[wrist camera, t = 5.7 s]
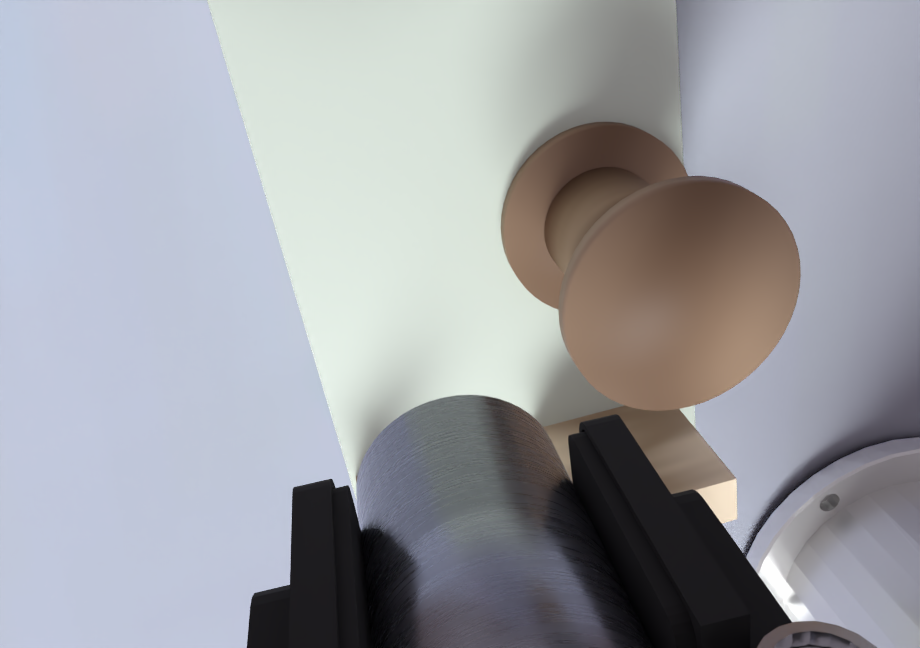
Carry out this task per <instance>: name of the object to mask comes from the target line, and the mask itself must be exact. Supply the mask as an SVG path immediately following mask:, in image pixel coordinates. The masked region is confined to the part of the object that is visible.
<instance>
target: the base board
mask: <svg viewBox="0 0 920 648" xmlns="http://www.w3.org/2000/svg"><path fill="white" fill-rule="evenodd" d="M207 1H208V5H209V8H210V11H211V15H212V18H213V22H214V25H215V28H216V32H217V35H218V38H219V42H220V45H221V48H222V52H223V55H224V58H225V62H226V65H227V68H228V72H229V75H230V78H231V82H232V85H233V88H234V92H235V95H236V98H237V102H238V105H239V109H240V112H241V115H242V119H243V122H244V125H245V129H246V132H247V135H248V139H249V142H250V145H251V149H252V152H253V155H254V159H255V162H256V165H257V169H258V172H259V175H260V179H261V182H262V186H263V189H264V192H265V196H266V199H267V202H268V206H269V209H270V212H271V216H272V219H273V222H274V226H275V229H276V232H277V236H278V239H279V242H280V246H281V249H282V252H283V256H284V259H285V262H286V266H287V269H288V273H289V276H290V279H291V283H292V286H293V289H294V293H295V296H296V299H297V303H298V306H299V309H300V313H301V316H302V319H303V323H304V326H305V329H306V333H307V336H308V339H309V343H310V346H311V349H312V353H313V356H314V360H315V363H316V366H317V370H318V373H319V376H320V380H321V383H322V386H323V390H324V393H325V396H326V400H327V403H328V406H329V410H330V413H331V416H332V420H333V423H334V426H335V430H336V433H337V437H338V440H339V443H340V447H341V450H342V453H343V457H344V460H345V463H346V467H347V470H348V473H349V477H350V480H351V483H352V487H353V490H354V493H355V497H356V484H357V483H356V476H358V472H359V469H360V466H361V462H362V460H363V458H364V456H365V454H366V452H367V450H368V449H369V447H370V445H371V444H372V442H373V441H374V440H375V438H376V437H377V436H378V435H379V434H380V433H381V431H382V430H383V429H385V428H386V427H387V426H388V425H389V424H390V423H391V422H392V421H394V420H395V419H397V418H398V417H399V416H401V415H402V414H404V413H405V412H407V411H409V410H411V409H413V408H415V407H417V406H419V405H422V404H424V403H426V402H429V401H432V400H436V399H440V398H444V397H450V396H456V395H481V396H488V397H493V398H498V399H501V400H504V401H507V402H510V403H512V404H514V405H516V406H518V407H520V408H522V409H523V410H525V411H526V412H528V413H529V414H530V415H532V416H533V417H534V418H535V419H536V420H537V421H538V422H539V423H540V424H541V425H542V427H545V426H549V425H553V424H556V423H560V422H564V421H568V420H572V419H575V418H579V417H583V416H587V415H591V414H594V413H598V412H602V411H606V410H610V409H613V408H617V407H621V406H625V405H622V404H620V403H617V402H615V401H613V400H611V399H609V398H607V397H606V396H604V395H603V394H601V393H600V392H598V391H597V390H596V389H595V388H594V387H593V386H592V385H591V384H590V383H589V382H588V381H587V380H586V378H585V377H584V376H583V375H582V373H581V372H580V371H579V369H578V368H577V366H576V365H575V363H574V362H573V360H572V358H571V356H570V355H569V353H568V351H567V349H566V346H565V344H564V341H563V338H562V335H561V330H560V325H559V312H558V309H555V308H553V307H551V306H549V305H547V304H545V303H543V302H541V301H540V300H539V299H537V298H536V297H534V296H533V295H532V294H531V293H530V292H529V291H528V290H527V289H526V288H525V287H524V286H523V284H522V283H521V282H520V281H519V279H518V278H517V276H516V275H515V273H514V271H513V270H512V268H511V266H510V264H509V263H508V260H507V257H506V255H505V252H504V248H503V244H502V238H501V215H502V210H503V204H504V201H505V198H506V194H507V191H508V189H509V187H510V185H511V183H512V180H513V179H514V177H515V175H516V174H517V172H518V170H519V169H520V168H521V166H522V165H523V164H524V162H525V161H526V160H527V159H528V158H529V157H530V156H531V155H532V154H533V153H534V152H535V151H536V150H537V149H538V148H539V147H540V146H541V145H543V144H544V143H545V142H547V141H548V140H549V139H551V138H553V137H554V136H556V135H558V134H559V133H561V132H564V131H566V130H568V129H570V128H573V127H576V126H580V125H583V124H588V123H594V122H617V123H624V124H627V125H631V126H634V127H637V128H639V129H641V130H643V131H646V132H647V133H649V134H651V135H653V136H654V137H656V138H657V139H659V140H660V141H662V142H663V143H664V144H666V145H667V146H668V147H669V148H670V149H671V150H672V151H673V152H674V153H675V155H676V156H677V157H678V158H679V160H680V161H681V163H682V165H683V144H682V123H681V101H680V79H679V57H678V36H677V14H676V0H207ZM680 411H681V412H682V413H683V414H684V415H685V417H686V418H687V419H688V420H689V422H690V423H691V424H692V425H693V426H694V428H695V429H696V427H695V405H693V406H690V407H686V408H681V409H680ZM356 500H357V497H356Z"/></svg>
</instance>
